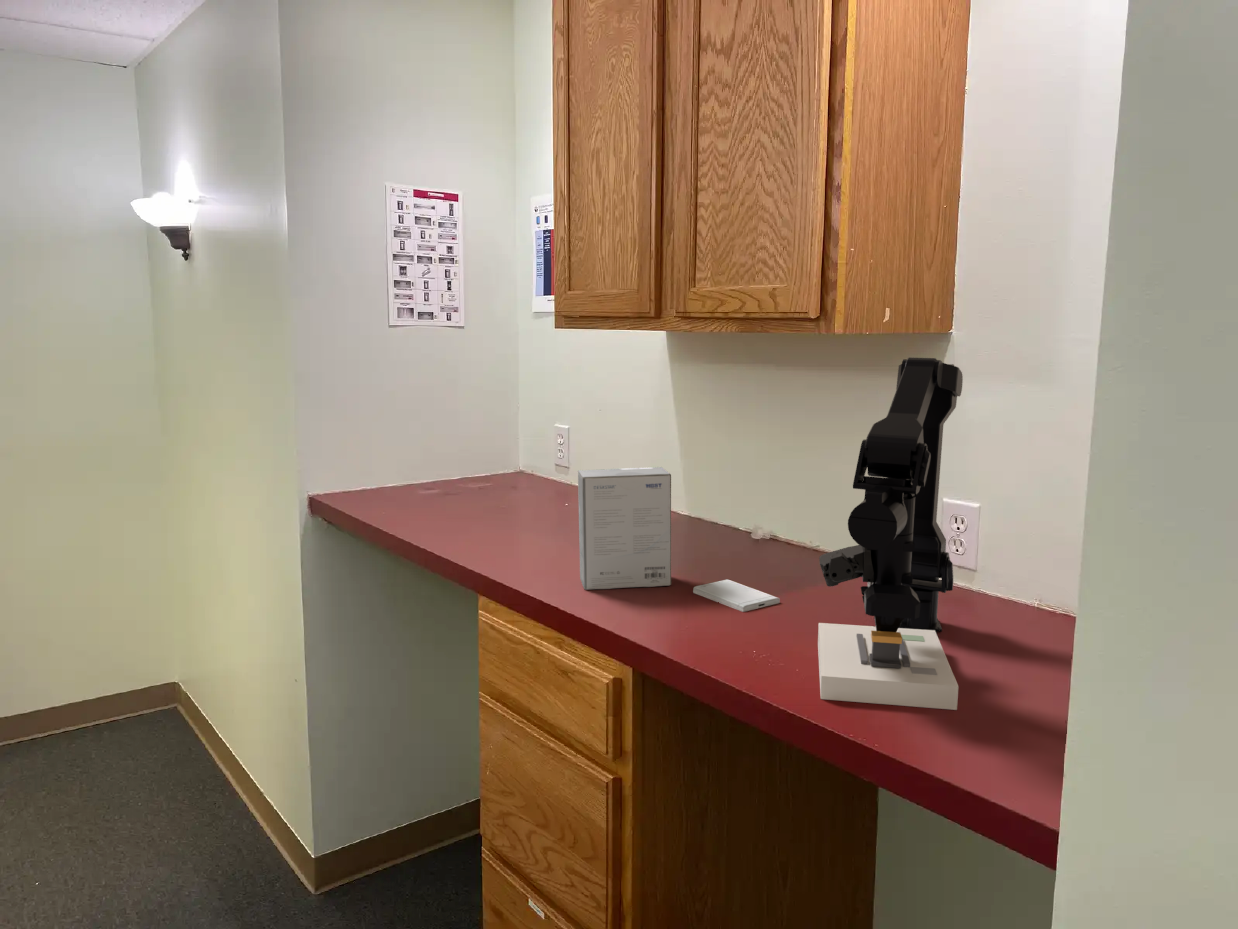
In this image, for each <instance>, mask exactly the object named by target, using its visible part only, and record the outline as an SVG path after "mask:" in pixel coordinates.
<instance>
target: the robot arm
mask: <svg viewBox="0 0 1238 929" xmlns="http://www.w3.org/2000/svg"><path fill="white" fill-rule="evenodd" d="M897 370H898V371H897V378H896V379H897V380H896V388H895V393H894V396H893V398H892V401H891V404H890V407H889V410H888V412H887V415H886V417H884V418H882V419H881V420H879V421H877V422H875V423H873V424H872V426H871V428H870V430H869V431H868V434H867V436H866V439H862V441H861V444H860V448H859V453H858V459H857V463H856V468H855V473H854V478H853V482H852V483H853V484H852V488H853V489H856V490H864V499H863V501H861V503H859V504H858V505H856V506H855V507H854V508H853V509H852V511H851V512H850V514H849V517H848V519H847V530H848V532H849V535H850V537H851V538H852V539H853V541H854V542H855V543H856V544H857V545H852V546H848V547H843V548H839V549H836V550H832V551H830V552H826V553H823V554H821V555H820V556H819V558H818V559H819V567H820V569H821V571H822V575H823V577H824V581H825V583H826V586H827V587H828V588H829V587H835V586H839V584H840V583H844V582H848V581H851V580H856V579H859V578H862V582H863V583H867V586H866V585H864V586H863V585H862V586H860V592H861V593H860V594H862V595H861V597H862V602H863V607H864V612H865V615H868V616H871V617H874V626H875V627H876V631H886V632H897V630H898V628H906V629H921V630H935V632H936V633H940V632H942V631H943V628H942V625H941V623H940V620H939V619H938V606H939V592H940V593H943V594H946V592H949V591H950V592H951V591H953V590H954V564H953V561H952V560H951V558H950V552H946V551H947V550H946V549H947V548H946V547H947V545H946V544H947V539H946V537H945V534H944V533H943V532H942V529H941V528H940V525H939V524H938V523H937V518H938V517H937V516H938V503H939V502H938V501H939V488H940V478H941V463H942V461H941V460H942V447H943V435H944V434H943V433H944V426H945V423H946V422H947V420H948V419H949V418H950V416H951V414H953V412H954V411H955V409H956V408H957V400H958V397H961V395H962V391H963V383H964V381H963V380H964V379H963V376H964V375H963V371H962V370H961V369H960V368H959V367H958V366H955V364H953V363H950V364H949V363H945V362H943V361H942V360H941V359H937V358H936V357H907V359H905V358H904V359H902V361H901V363H900V364H899V365H898V369H897ZM866 473H867V475H868V476H867V475H866Z"/></svg>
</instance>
